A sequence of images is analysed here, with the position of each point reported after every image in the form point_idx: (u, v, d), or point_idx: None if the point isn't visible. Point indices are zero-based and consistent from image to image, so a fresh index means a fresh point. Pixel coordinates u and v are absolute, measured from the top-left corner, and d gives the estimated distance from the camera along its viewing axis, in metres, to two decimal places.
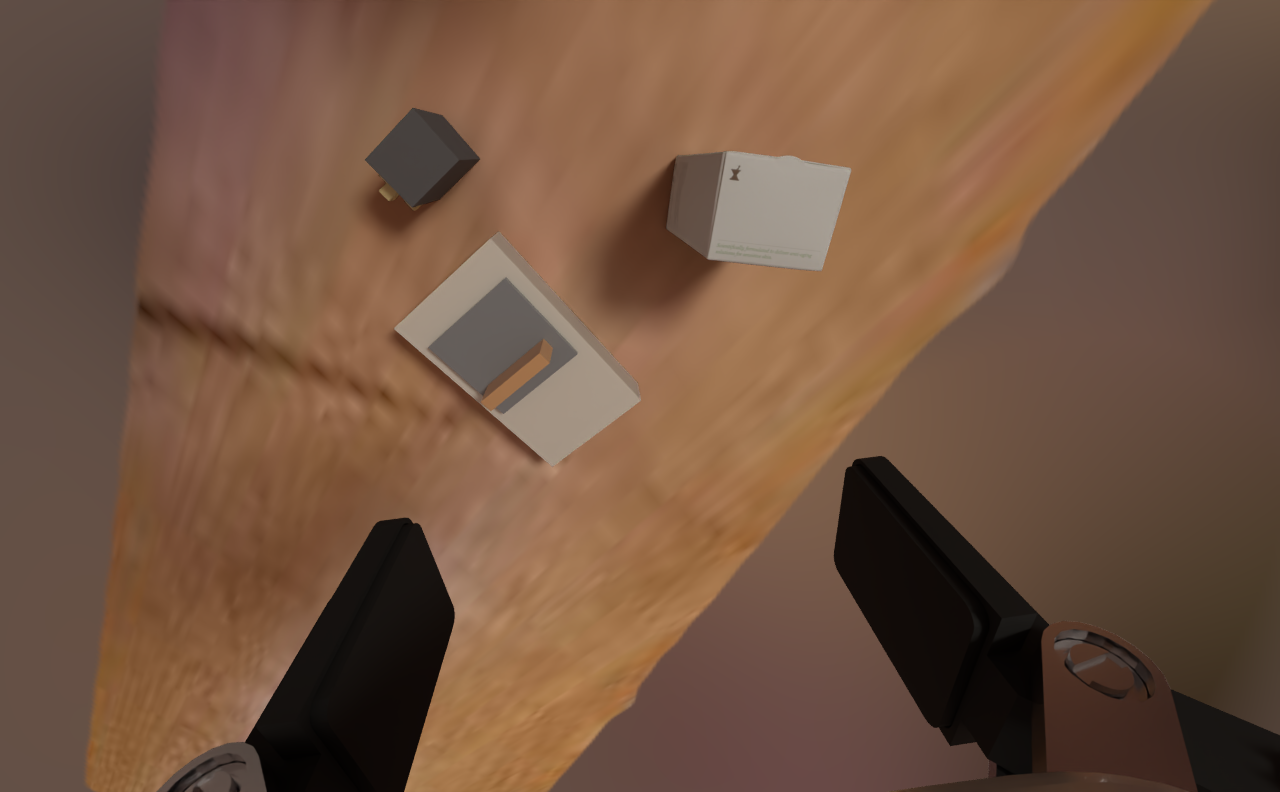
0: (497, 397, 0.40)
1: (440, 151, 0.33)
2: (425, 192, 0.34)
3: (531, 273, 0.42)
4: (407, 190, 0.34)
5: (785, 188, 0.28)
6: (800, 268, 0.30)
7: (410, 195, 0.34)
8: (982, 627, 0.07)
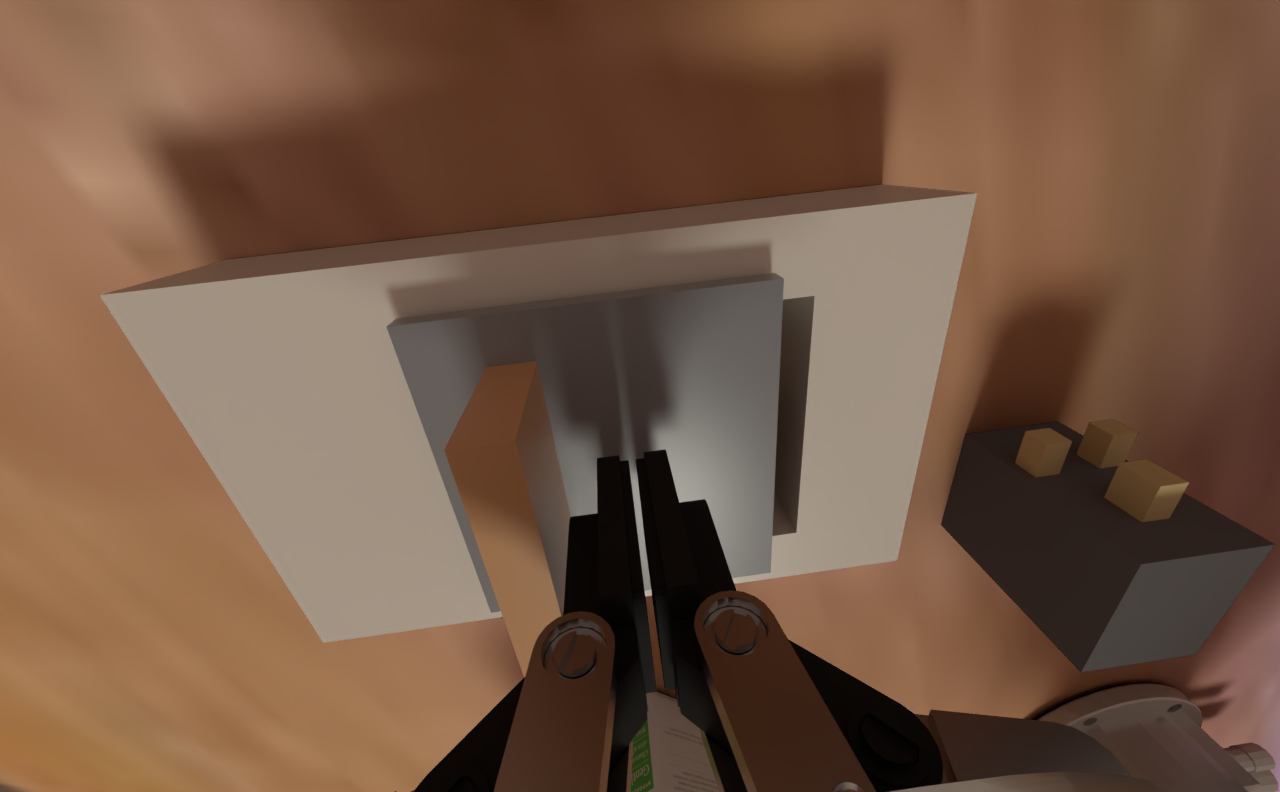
0: (500, 511, 0.09)
1: (1121, 655, 0.15)
2: (1122, 600, 0.14)
3: None
4: (1162, 576, 0.13)
5: None
6: None
7: (1153, 576, 0.13)
8: (662, 596, 0.07)
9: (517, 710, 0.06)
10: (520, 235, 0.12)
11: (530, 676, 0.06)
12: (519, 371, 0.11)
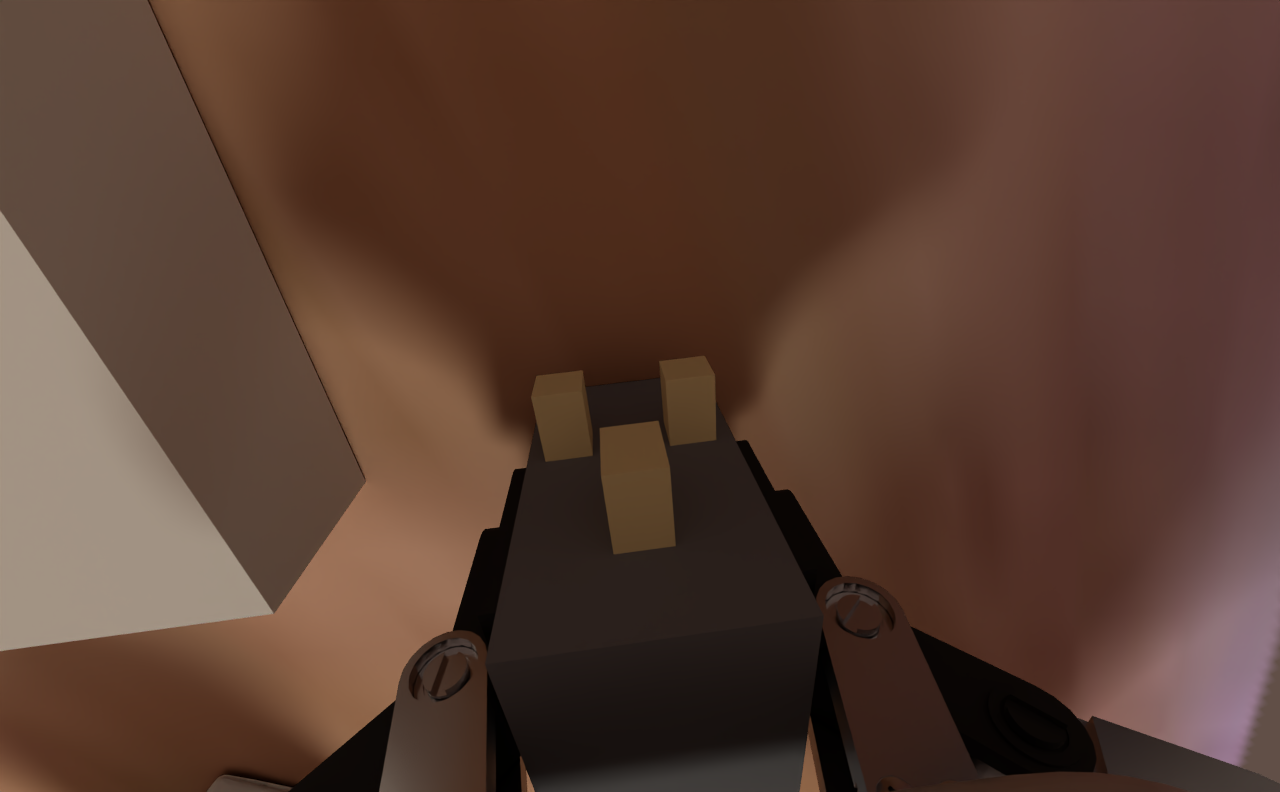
0: None
1: None
2: (519, 735, 0.06)
3: None
4: (575, 687, 0.06)
5: None
6: None
7: (545, 687, 0.06)
8: None
9: (388, 748, 0.06)
10: None
11: (399, 710, 0.06)
12: None
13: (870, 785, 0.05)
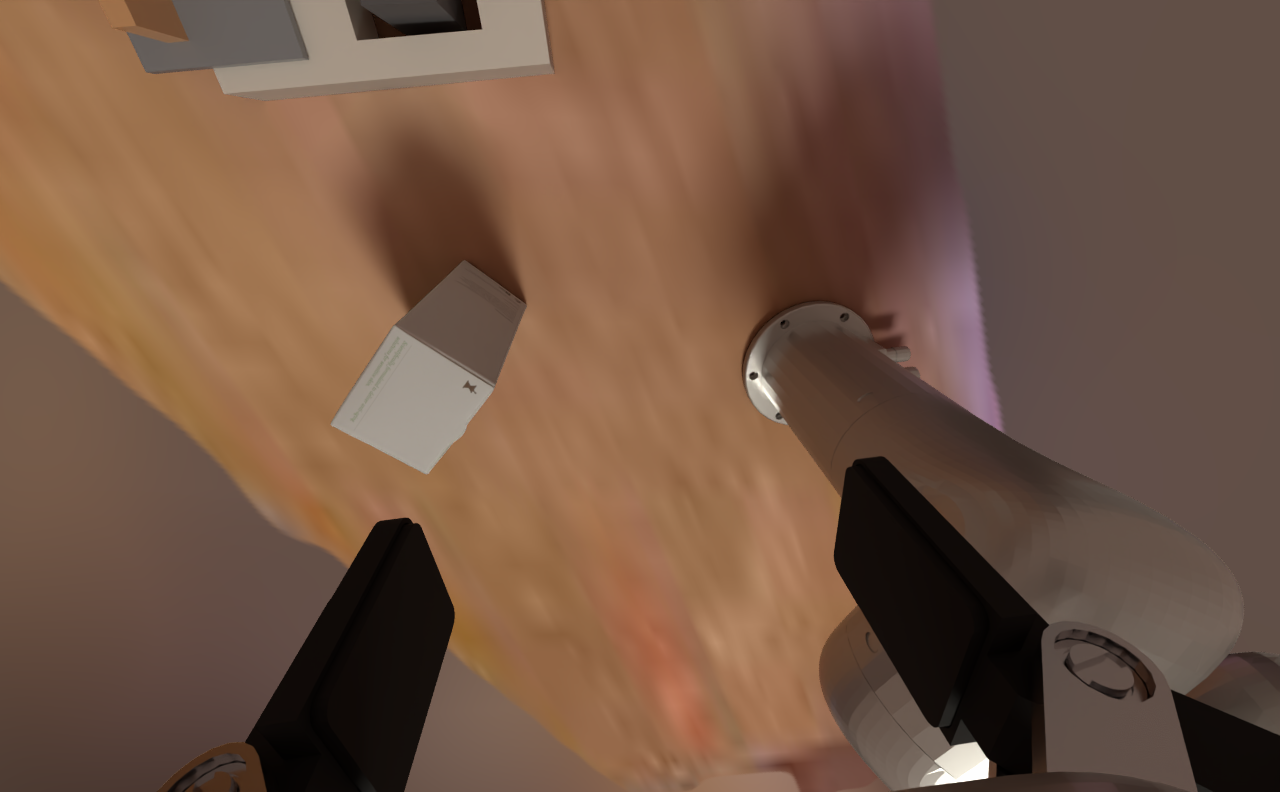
0: None
1: None
2: None
3: (487, 75, 0.31)
4: None
5: (434, 421, 0.27)
6: (341, 407, 0.27)
7: None
8: (982, 627, 0.07)
9: None
10: None
11: None
12: None
13: None
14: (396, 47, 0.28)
